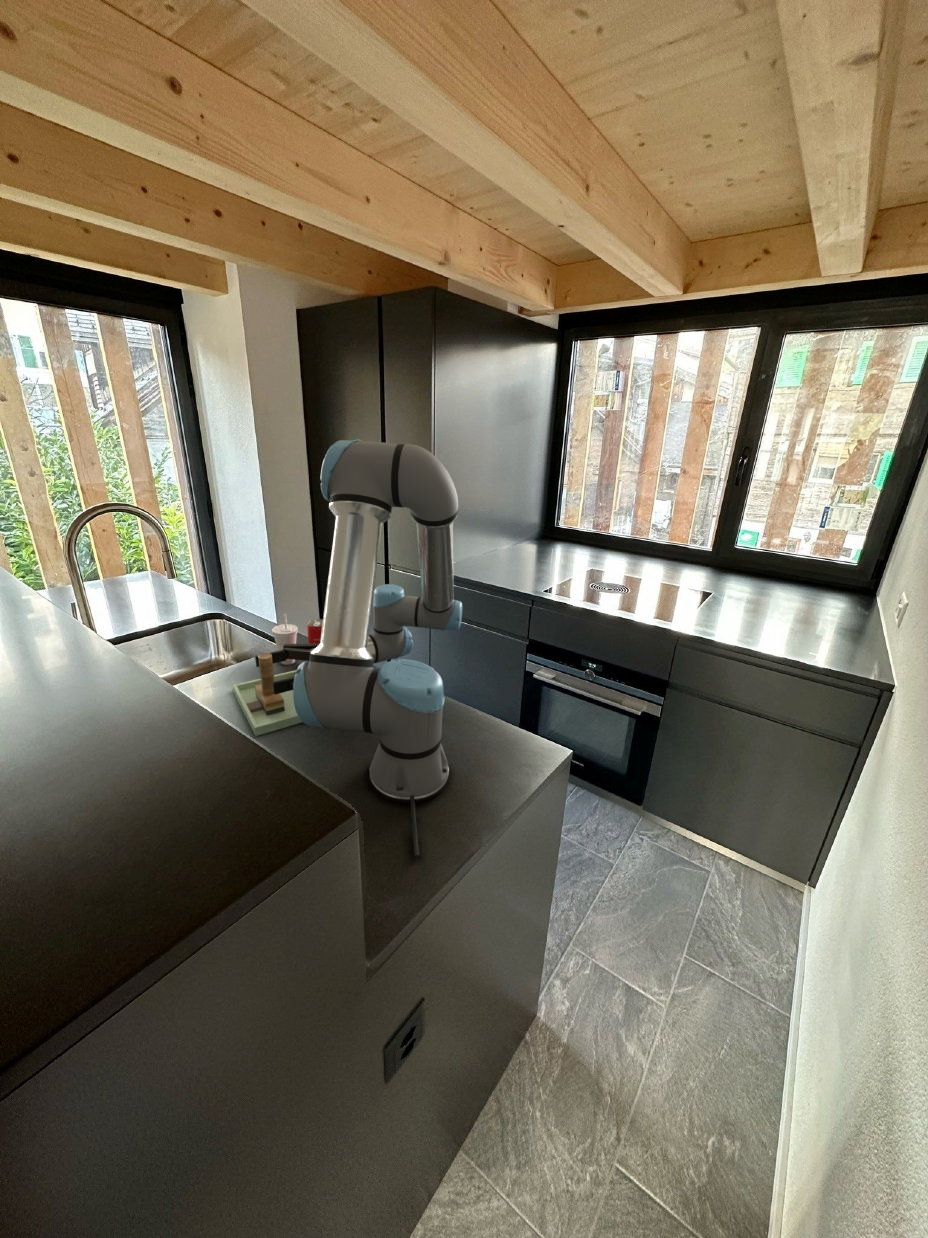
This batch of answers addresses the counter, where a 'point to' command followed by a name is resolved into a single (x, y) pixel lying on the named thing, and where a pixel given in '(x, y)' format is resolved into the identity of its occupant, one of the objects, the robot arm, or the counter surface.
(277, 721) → the tray
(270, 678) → the brush
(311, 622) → the beverage can
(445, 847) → the counter surface
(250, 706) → the pad
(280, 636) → the smoothie
